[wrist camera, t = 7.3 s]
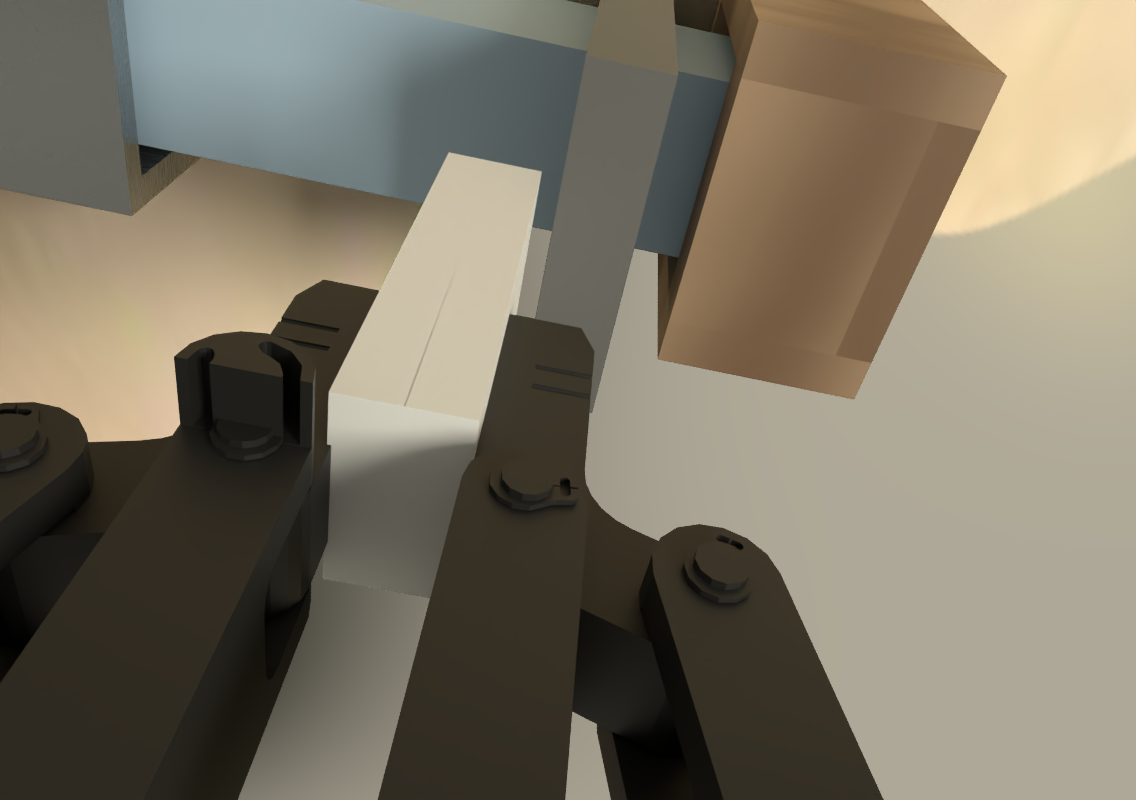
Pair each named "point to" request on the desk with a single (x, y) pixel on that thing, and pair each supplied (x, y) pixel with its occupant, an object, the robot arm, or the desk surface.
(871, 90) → the socket block
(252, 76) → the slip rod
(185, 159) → the sleeve
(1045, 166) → the desk surface
